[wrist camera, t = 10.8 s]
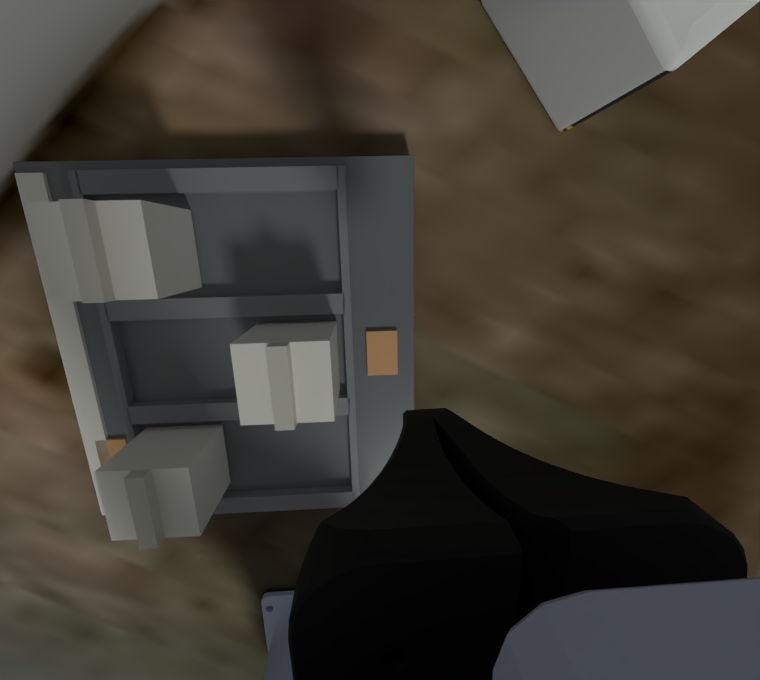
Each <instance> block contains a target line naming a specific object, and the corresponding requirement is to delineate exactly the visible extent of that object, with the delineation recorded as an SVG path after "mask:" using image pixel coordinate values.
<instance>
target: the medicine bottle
mask: <svg viewBox="0 0 760 680" xmlns="http://www.w3.org/2000/svg"><path fill="white" fill-rule="evenodd" d="M759 1H760V0H481V3H482V6H483V8H484V10H485V11H486V13H487V15H488V16H489V18H490V19H491V21H492V23H493V24H494V26H495V28H496V29H497V31H498V33H499V34H500V36H501V38H502V39H503V41H504V43H505V44H506V46H507V48H508V49H509V51H510V53H511V54H512V56H513V58H514V59H515V61H516V62H517V64H518V66H519V67H520V69H521V71H522V72H523V74H524V76H525V77H526V79H527V81H528V82H529V84H530V86H531V87H532V89H533V91H534V92H535V94H536V96H537V97H538V99H539V100H540V102H541V104H542V105H543V107H544V109H545V110H546V112H547V114H548V115H549V117H550V119H551V120H552V122H553V124H554V125H555V127H556V129H557V130H559V131H566V130H568V129H570V128H572V127H574V126H576V125H577V124H579V123H581V122H583V121H584V120H586V119H588V118H590V117H592V116H593V115H595V114H597V113H599V112H600V111H602V110H604V109H606V108H608V107H609V106H611V105H613V104H615V103H616V102H618V101H620V100H622V99H624V98H625V97H627V96H629V95H631V94H633V93H634V92H636V91H638V90H640V89H641V88H643V87H645V86H647V85H649V84H650V83H652V82H654V81H656V80H657V79H659V78H661V77H663V76H665V75H666V74H668V73H670V72H672V71H673V70H675V69H677V68H678V67H680V66H681V65H682V64H683V63H684V62H686V61H687V60H688V59H689V58H691V57H692V56H693V55H694V54H695V53H697V52H698V51H699V50H700V49H701V48H703V47H704V46H705V45H706V44H708V43H709V42H710V41H711V40H712V39H714V38H715V37H716V36H717V35H719V34H720V33H721V32H722V31H723V30H725V29H726V28H727V27H728V26H730V25H731V24H732V23H733V22H734V21H736V20H737V19H738V18H739V17H741V16H742V15H743V14H744V13H745V12H747V11H748V10H749V9H750V8H752V7H753V6H754V5H755V4H756V3H758V2H759Z"/></svg>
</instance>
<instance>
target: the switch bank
mask: <svg viewBox="0 0 760 680" xmlns="http://www.w3.org/2000/svg"><path fill="white" fill-rule="evenodd" d="M13 164H14V168H15V172H16V173H14V174H15V178H16V182H17V186H18V190H19V194H20V197H21V201H22V205H23V209H24V213H25V217H26V221H27V225H28V229H29V233H30V236H31V240H32V244H33V248H34V252H35V256H36V260H37V264H38V268H39V272H40V276H41V279H42V283H43V287H44V291H45V295H46V299H47V303H48V307H49V311H50V315H51V318H52V322H53V326H54V330H55V334H56V338H57V342H58V346H59V350H60V354H61V357H62V361H63V365H64V369H65V373H66V377H67V381H68V385H69V389H70V393H71V396H72V400H73V404H74V408H75V412H76V416H77V420H78V424H79V428H80V432H81V435H82V439H83V443H84V447H85V451H86V455H87V459H88V463H89V467H90V471H91V474H92V478H93V482H94V486H95V490H96V494H97V498H98V502H99V506H100V510H101V513H102V515H103V516H104V520H106V516H105V512H104V508H103V504H102V500H101V496H100V493H99V489H98V485H97V481H96V477H95V473H94V472H95V471H96V470H97V469H98V468H100V467H101V466H102V465H103V464H104V463H105V462H107V461H108V460H109V459H110V458H111V457H113V456H114V455H115V454H116V453H117V452H118V451H120V450H121V449H122V448H123V447H124V446H126V445H127V444H128V443H129V442H130V441H131V440H133V439H134V438H135V437H136V436H137V435H139V434H140V433H141V432H142V431H143V430H144V429H146V428H147V427H167V426H190V425H213V424H222V425H223V432H224V439H225V446H226V452H227V459H228V466H229V473H230V480H231V482H230V484H229V486H228V488H227V489H226V491H225V493H224V495H223V497H222V498H221V500H220V502H219V504H218V506H217V507H216V509H215V511H214V513H213V514H232V513H251V512H270V511H290V510H309V509H328V508H344V507H346V506H347V505H349V504H350V503H351V502H353V501H354V500H355V499H356V498H357V497H358V496H359V495H360V494H362V493H363V492H364V491H365V490H366V489H367V488H368V487H369V486H370V484H371V483H372V482H373V481H374V480H375V478H376V477H377V476H378V475H379V473H380V472H381V471H382V469H383V468H384V466H385V465H386V463H387V462H388V460H389V458H390V456H391V455H392V453H393V450H394V448H395V446H396V444H397V442H398V439H399V437H400V434H401V430H402V427H403V413H404V412H405V411H406V410H414V155H405V156H343V157H282V158H220V159H158V160H96V161H34V162H13ZM58 199H87V200H93V201H106V200H144V201H149V202H154V203H158V204H163V205H168V206H173V207H178V208H183V209H188V210H191V215H192V222H193V229H194V236H195V242H196V249H197V256H198V263H199V270H200V276H201V283H202V288H198V289H194V290H190V291H187V292H183V293H179V294H175V295H171V296H168V297H164V298H160V299H143V300H115V301H110V302H106V303H82V301H76V302H51V300H50V296H49V292H48V288H47V284H46V280H45V276H44V272H43V268H42V265H41V261H40V257H39V253H38V249H37V245H36V241H35V237H34V233H33V229H32V225H31V221H30V217H29V213H28V209H27V205H26V202H57V201H59V200H58ZM318 321H337V339H338V357H339V375H340V391H339V397H338V403H337V409H336V416H335V421H334V422H311V423H297V425H296V428H295V430H282V431H275V425H274V424H265V425H242V426H240V418H239V411H238V403H237V395H236V388H235V380H234V373H233V365H232V358H231V350H230V344H231V343H232V342H233V341H235V340H236V339H237V338H239V337H240V336H241V335H243V334H244V333H245V332H247V331H248V330H249V329H251V328H252V327H253V326H255V325H256V324H258V323H288V322H318ZM213 514H212V515H213Z"/></svg>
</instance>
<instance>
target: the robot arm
mask: <svg viewBox="0 0 760 680" xmlns="http://www.w3.org/2000/svg"><path fill="white" fill-rule="evenodd" d="M747 570H748V569H747V561H746V557H745V553H744V549H743V547H742V545H741V544H740V542H739V541H738V539H737V538H736V537H735V535H734V534H733V533H732V532H731V531H729V530H728V529H727V528H726V527H724V526H723V525H722V524H720V523H719V522H718V521H717V520H715V519H714V518H713V517H711V516H710V515H709V514H708V513H706V512H705V511H704V510H703V509H701V508H700V507H699V506H697V505H696V504H695V503H694V502H692V501H691V500H690V499H689V498H687V497H684V496H678V495H672V494H667V493H661V492H656V491H650V490H644V489H639V488H633V487H628V486H624V485H620V484H616V483H611V482H607V481H603V480H599V479H595V478H592V477H588V476H585V475H581V474H578V473H575V472H572V471H569V470H566V469H563V468H560V467H557V466H554V465H551V464H548V463H546V462H543V461H540V460H538V459H536V458H533V457H531V456H529V455H527V454H524V453H522V452H520V451H518V450H515V449H513V448H511V447H509V446H507V445H506V444H504V443H502V442H500V441H498V440H496V439H494V438H493V437H491V436H489V435H488V434H486V433H484V432H483V431H481V430H479V429H478V428H476V427H475V426H473V425H471V424H470V423H468V422H467V421H465V420H464V419H462V418H461V417H459V416H458V415H456V414H455V413H453V412H452V411H450V410H448V409H446V408H438V409H420V410H406V411H405V412H404V413H403V427H402V430H401V434H400V437H399V439H398V442H397V444H396V446H395V448H394V450H393V453H392V455H391V456H390V458H389V460H388V462H387V463H386V465H385V466H384V468H383V469H382V471H381V472H380V473H379V475H378V476H377V477H376V478H375V480H374V481H373V482H372V483H371V484H370V486H369V487H368V488H367V489H366V490H365V491H364V492H363V493H362V494H360V495H359V496H358V497H357V498H356V499H355V500H354V501H353V502H351V503H350V504H349V505H347V506H346V507H344V508H343V509H341V510H340V511H338V512H337V513H335V514H334V515H332V516H330V517H329V518H327V519H326V520H324V521H322V522H321V523H320V524H319V526H318V528H317V530H316V532H315V535H314V537H313V539H312V541H311V544H310V546H309V549H308V551H307V554H306V556H305V559H304V561H303V564H302V568H301V571H300V573H299V577H298V580H297V583H296V587H295V590H294V591H277V592H267V593H265V594H264V595H263V597H262V600H261V605H262V613H263V620H264V628H265V635H266V642H267V650H268V656H267V661H266V665H265V669H264V674H263V678H262V680H760V577H758V578H747Z"/></svg>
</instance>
